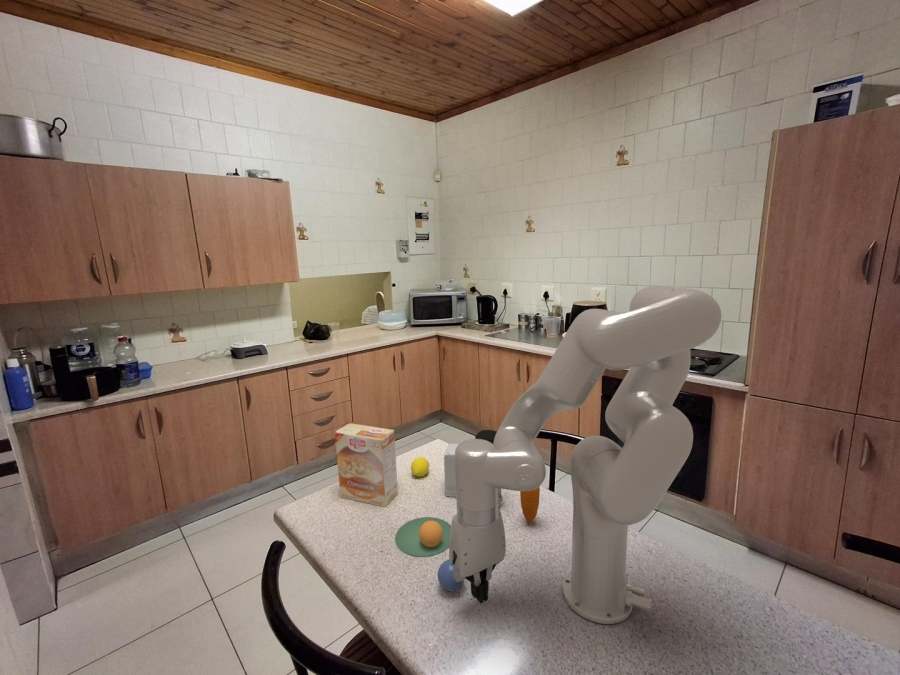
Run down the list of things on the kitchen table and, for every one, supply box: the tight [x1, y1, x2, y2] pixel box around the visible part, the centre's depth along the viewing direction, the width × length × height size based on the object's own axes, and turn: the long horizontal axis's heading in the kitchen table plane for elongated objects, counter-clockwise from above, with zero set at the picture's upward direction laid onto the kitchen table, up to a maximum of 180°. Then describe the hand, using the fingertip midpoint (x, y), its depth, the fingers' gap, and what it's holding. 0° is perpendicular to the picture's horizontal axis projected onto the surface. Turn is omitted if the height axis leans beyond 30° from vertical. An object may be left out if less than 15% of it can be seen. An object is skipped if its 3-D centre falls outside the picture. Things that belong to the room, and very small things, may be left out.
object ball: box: [419, 521, 443, 547], centre depth 93 cm, size 6×6×6 cm
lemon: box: [410, 456, 430, 478], centre depth 125 cm, size 7×5×5 cm
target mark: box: [394, 516, 451, 558], centre depth 97 cm, size 14×14×1 cm
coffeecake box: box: [334, 422, 399, 508], centre depth 113 cm, size 15×7×20 cm, turn 67°
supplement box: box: [443, 443, 460, 498], centre depth 114 cm, size 7×7×13 cm
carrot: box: [519, 486, 541, 525], centre depth 99 cm, size 5×5×15 cm
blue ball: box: [437, 559, 466, 592], centre depth 81 cm, size 6×6×6 cm
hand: (480, 596), depth 77 cm, fingers closed
